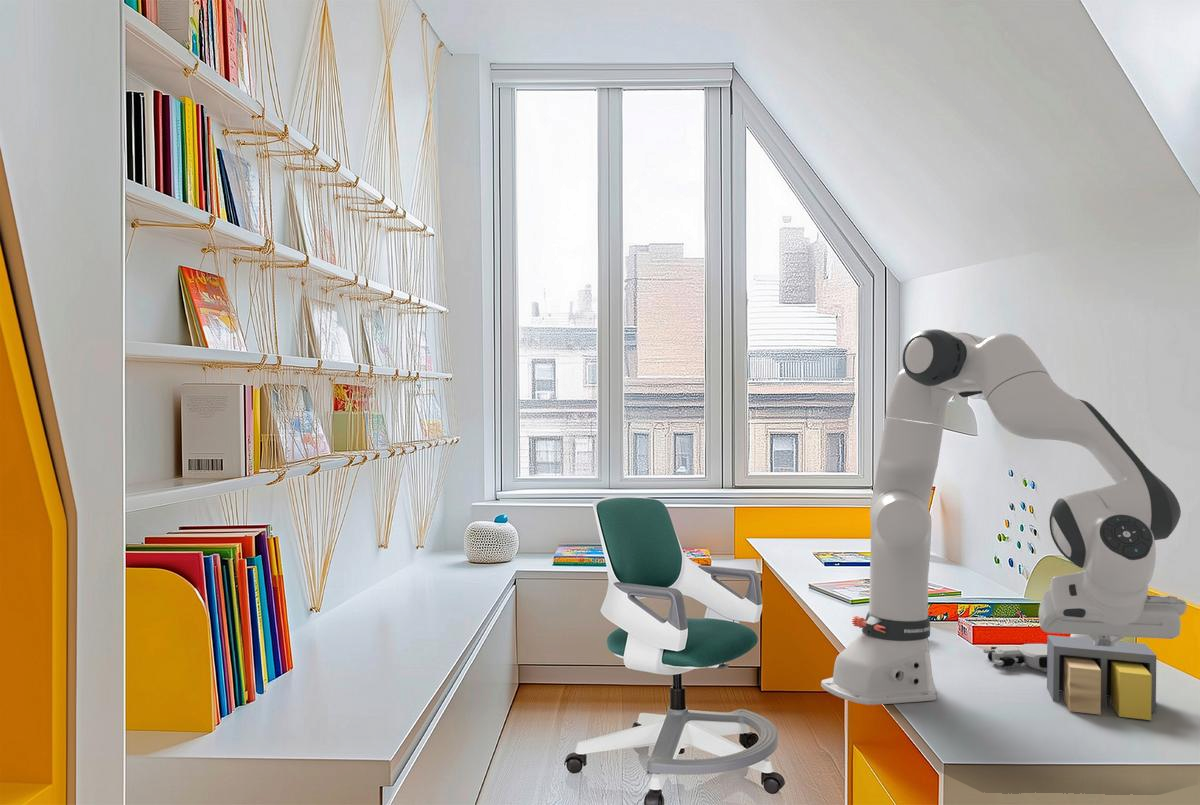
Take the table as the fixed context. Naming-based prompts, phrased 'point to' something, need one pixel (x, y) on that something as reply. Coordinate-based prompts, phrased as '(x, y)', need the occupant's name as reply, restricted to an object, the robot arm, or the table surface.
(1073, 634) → the white egg
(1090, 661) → the light wood block
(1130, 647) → the grey slotted holder
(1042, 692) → the table surface
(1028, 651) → the robot toy
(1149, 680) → the yellow rectangular block
